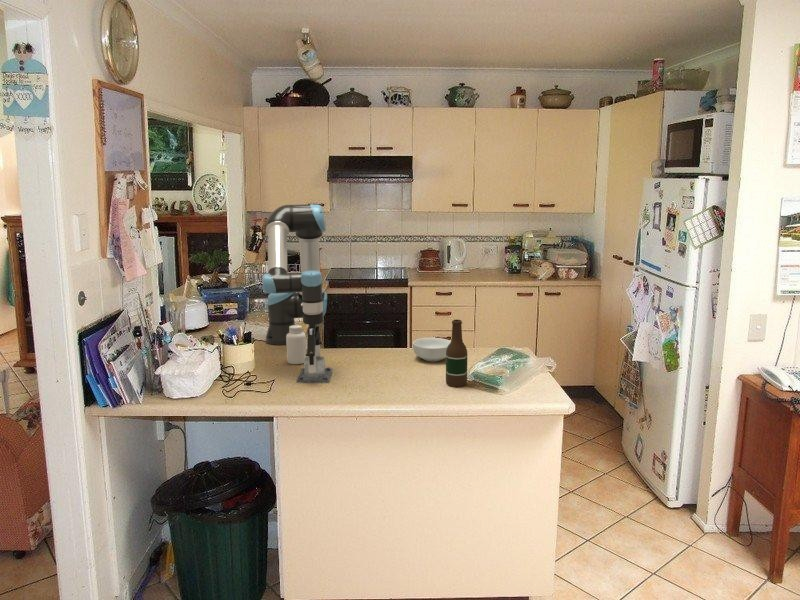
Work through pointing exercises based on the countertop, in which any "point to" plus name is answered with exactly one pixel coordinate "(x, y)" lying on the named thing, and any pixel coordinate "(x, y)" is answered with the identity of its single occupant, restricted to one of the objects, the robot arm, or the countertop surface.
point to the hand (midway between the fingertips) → (314, 366)
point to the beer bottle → (456, 358)
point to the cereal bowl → (431, 348)
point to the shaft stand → (315, 379)
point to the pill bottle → (296, 345)
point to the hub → (319, 367)
